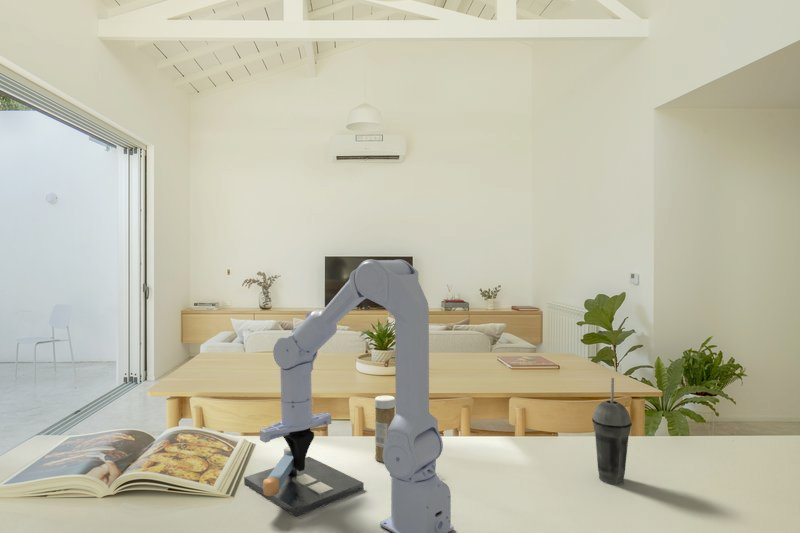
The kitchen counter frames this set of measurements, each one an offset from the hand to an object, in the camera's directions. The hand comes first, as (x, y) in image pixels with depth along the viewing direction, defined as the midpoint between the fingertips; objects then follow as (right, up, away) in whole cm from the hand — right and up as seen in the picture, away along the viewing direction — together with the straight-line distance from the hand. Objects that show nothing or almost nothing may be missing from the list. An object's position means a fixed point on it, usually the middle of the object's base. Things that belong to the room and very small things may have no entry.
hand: (298, 469), depth 99 cm
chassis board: (+1, -3, 0) cm, 4 cm away
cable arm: (-2, 0, -3) cm, 4 cm away
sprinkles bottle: (+16, -3, +14) cm, 22 cm away
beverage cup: (+61, -4, +4) cm, 62 cm away
